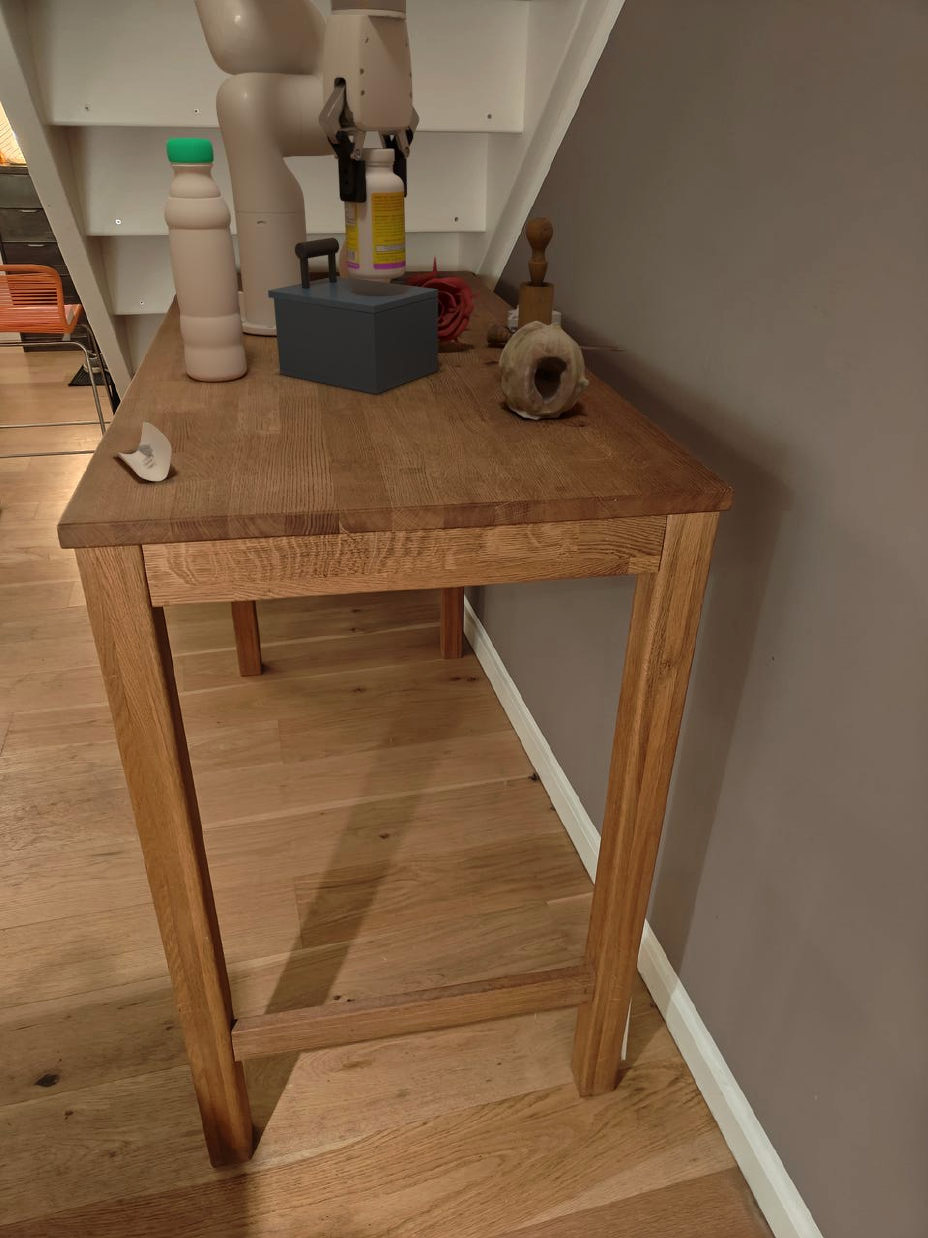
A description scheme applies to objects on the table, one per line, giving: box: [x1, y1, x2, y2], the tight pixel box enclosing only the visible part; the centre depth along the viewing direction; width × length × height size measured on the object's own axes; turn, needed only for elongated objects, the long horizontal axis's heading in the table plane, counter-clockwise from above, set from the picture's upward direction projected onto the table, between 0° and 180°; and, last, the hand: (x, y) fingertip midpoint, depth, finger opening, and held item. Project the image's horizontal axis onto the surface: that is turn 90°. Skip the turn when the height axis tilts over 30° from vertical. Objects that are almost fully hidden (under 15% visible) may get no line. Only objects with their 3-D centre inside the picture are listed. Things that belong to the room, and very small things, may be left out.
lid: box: [268, 237, 438, 313], centre depth 102 cm, size 15×13×6 cm
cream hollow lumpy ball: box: [498, 321, 590, 421], centre depth 93 cm, size 9×8×10 cm
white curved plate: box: [109, 421, 173, 482], centre depth 78 cm, size 4×8×3 cm
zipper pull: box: [506, 304, 562, 333], centre depth 125 cm, size 8×18×4 cm, turn 168°
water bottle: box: [163, 137, 248, 383], centre depth 99 cm, size 7×7×25 cm
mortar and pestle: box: [518, 217, 555, 330], centre depth 101 cm, size 7×6×18 cm
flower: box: [406, 256, 482, 350], centre depth 126 cm, size 13×12×30 cm
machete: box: [486, 322, 629, 353], centre depth 120 cm, size 21×3×5 cm
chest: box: [274, 297, 439, 395], centre depth 106 cm, size 15×13×9 cm
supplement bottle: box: [343, 147, 407, 280], centre depth 97 cm, size 7×7×13 cm
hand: (374, 197), depth 97 cm, fingers closed on supplement bottle, 6 cm apart
